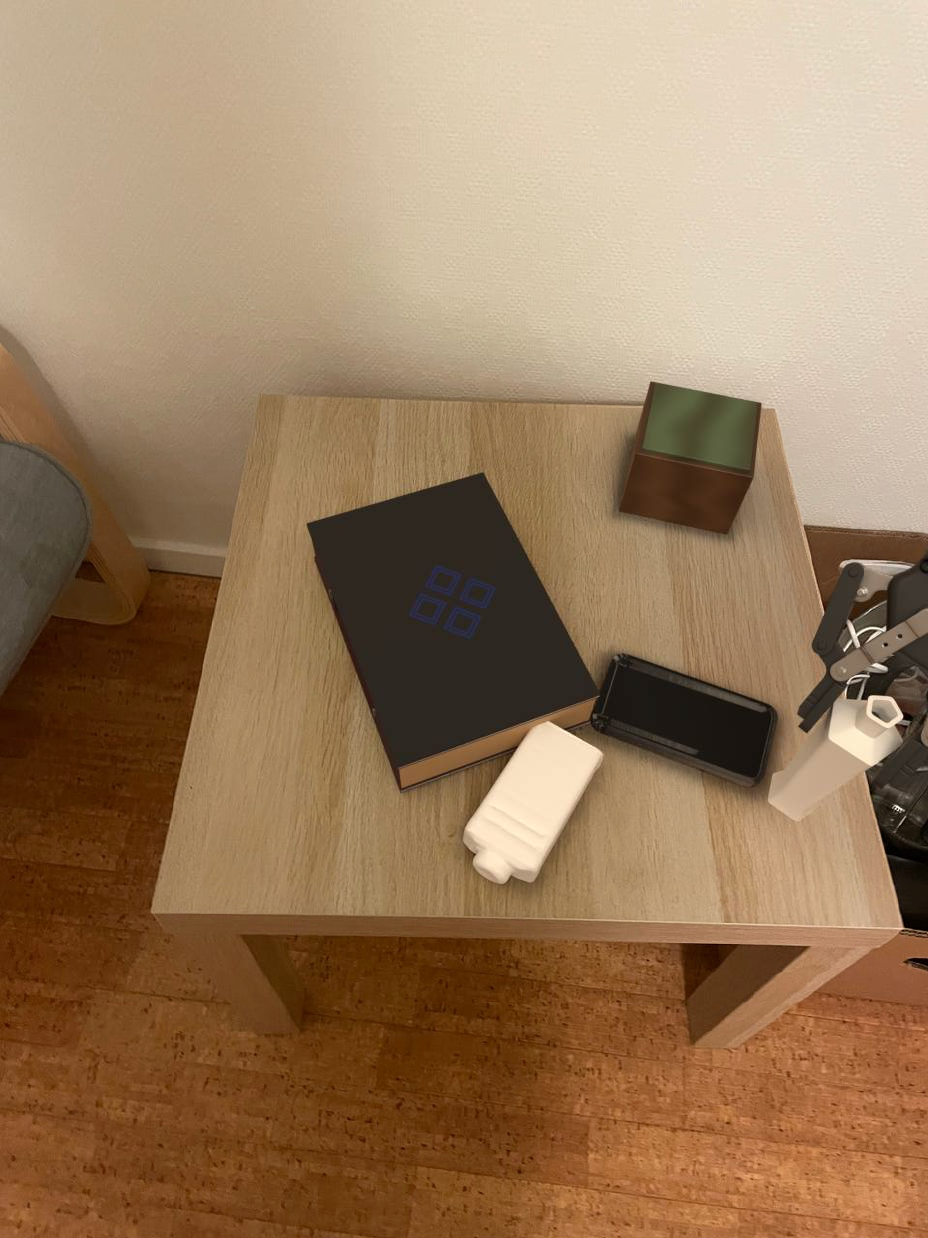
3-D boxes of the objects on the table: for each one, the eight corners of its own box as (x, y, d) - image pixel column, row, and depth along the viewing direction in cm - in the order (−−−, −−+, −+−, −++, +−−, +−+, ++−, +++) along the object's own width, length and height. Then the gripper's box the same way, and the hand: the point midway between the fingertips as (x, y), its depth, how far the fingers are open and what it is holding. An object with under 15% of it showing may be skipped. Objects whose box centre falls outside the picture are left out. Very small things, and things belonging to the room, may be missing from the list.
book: (400, 796, 70) (396, 767, 64) (315, 565, 82) (305, 522, 76) (588, 727, 73) (601, 693, 68) (480, 515, 85) (483, 471, 80)
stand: (736, 462, 90) (763, 399, 82) (727, 534, 85) (755, 474, 77) (633, 441, 91) (651, 377, 83) (619, 511, 86) (636, 450, 78)
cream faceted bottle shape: (820, 835, 61) (921, 758, 48) (760, 813, 62) (844, 732, 49) (829, 778, 63) (928, 691, 51) (771, 758, 64) (854, 667, 51)
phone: (615, 649, 76) (780, 708, 73) (613, 655, 77) (776, 713, 74) (588, 723, 72) (761, 788, 70) (586, 729, 73) (757, 792, 70)
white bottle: (450, 859, 67) (451, 844, 63) (531, 733, 73) (535, 712, 69) (521, 905, 65) (526, 891, 62) (598, 771, 71) (606, 752, 67)
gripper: (1154, 601, 48) (943, 819, 53) (924, 465, 53) (754, 676, 58) (1189, 607, 41) (944, 854, 47) (922, 450, 46) (731, 690, 52)
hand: (840, 754), depth 53 cm, fingers closed on cream faceted bottle shape, 4 cm apart
